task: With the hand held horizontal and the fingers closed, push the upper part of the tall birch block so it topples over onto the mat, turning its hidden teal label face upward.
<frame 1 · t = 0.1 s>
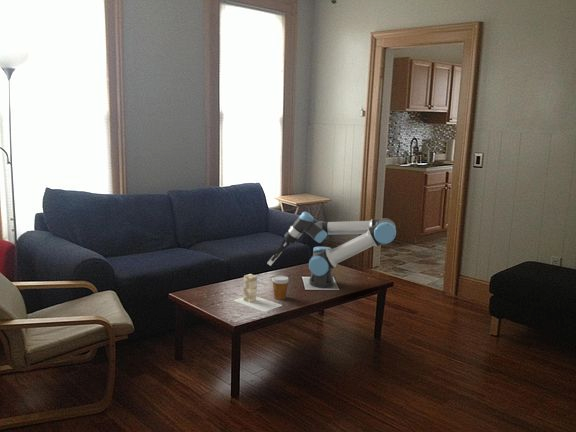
hand: (271, 261, 314), 15 cm above the table, tool tilted 35°, fingers open, 13 cm apart
disposable coffee cup: (279, 298, 296), on the table
block: (249, 300, 290), resting on mat
mat: (257, 303, 287), on the table
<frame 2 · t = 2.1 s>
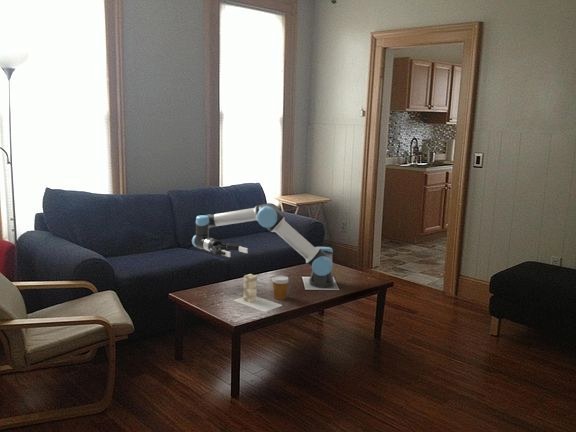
hand: (238, 252, 292), 25 cm above the table, tool horizontal, fingers open, 12 cm apart
nothing on the table moved.
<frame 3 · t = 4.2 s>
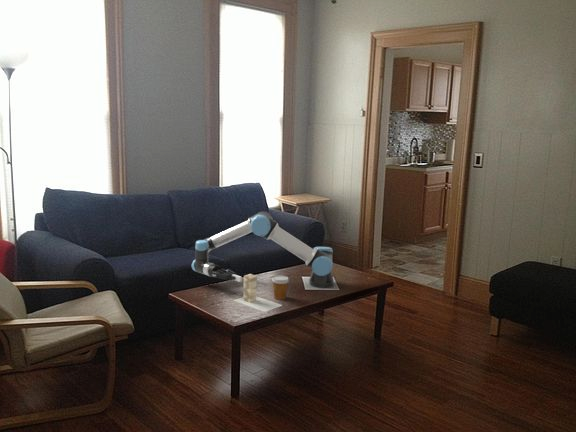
hand: (240, 279, 293), 11 cm above the table, tool horizontal, fingers closed
nothing on the table moved.
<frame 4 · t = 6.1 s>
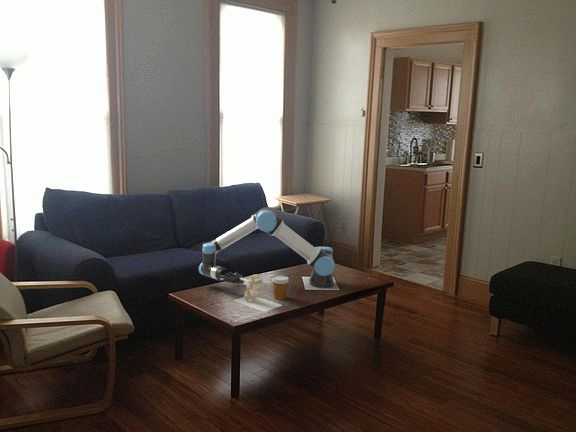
hand: (248, 283, 288), 10 cm above the table, tool horizontal, fingers closed
block: (250, 299, 290), point 1 cm above the table, tilted 18°, touching mat
everything else where it was.
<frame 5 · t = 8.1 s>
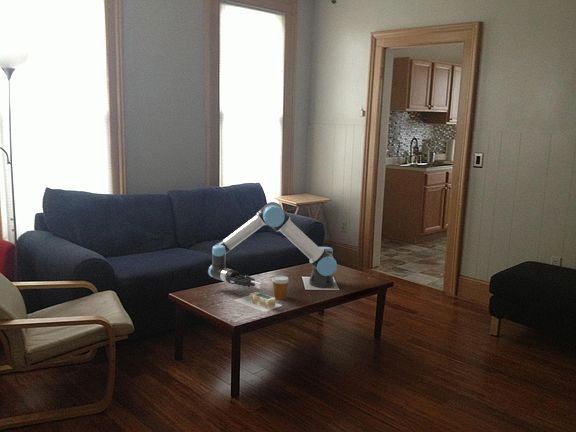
hand: (260, 285, 284), 10 cm above the table, tool horizontal, fingers closed
block: (253, 297, 288), point 3 cm above the table, tilted 90°, touching mat
everything else where it was.
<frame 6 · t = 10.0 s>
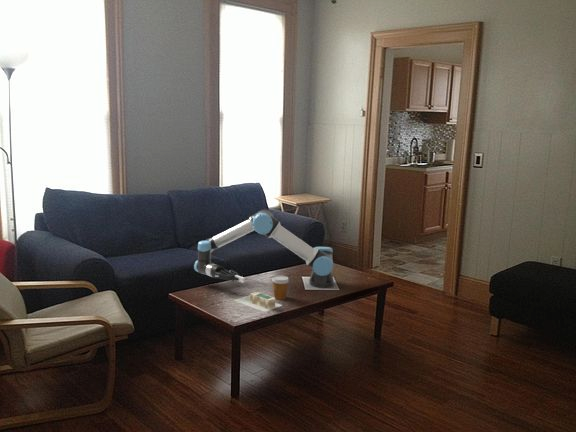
hand: (243, 280, 292), 11 cm above the table, tool horizontal, fingers closed
nothing on the table moved.
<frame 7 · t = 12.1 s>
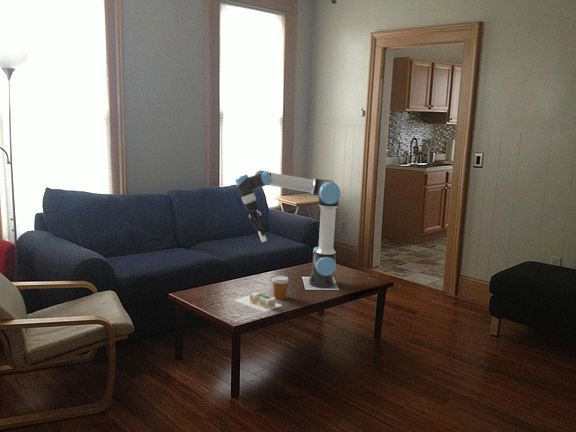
hand: (264, 241, 300), 30 cm above the table, tool tilted 25°, fingers closed
nothing on the table moved.
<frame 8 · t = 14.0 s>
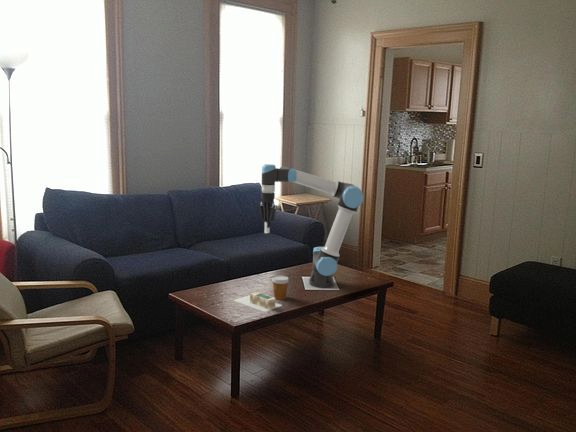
hand: (266, 232, 303), 34 cm above the table, tool pointing down, fingers closed
nothing on the table moved.
at the end: block tilted 90°; block 3.0 cm from the mat (horizontally); the gripper is holding nothing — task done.
